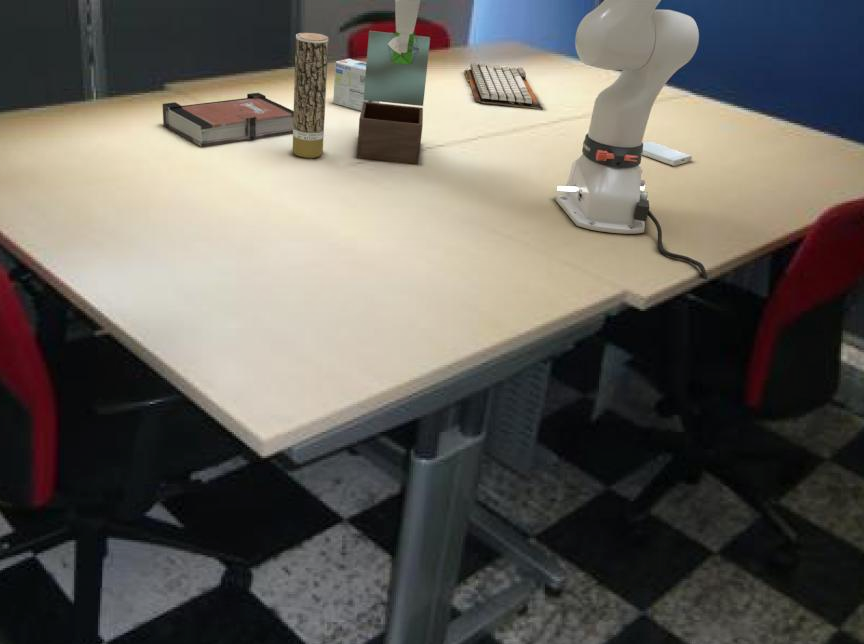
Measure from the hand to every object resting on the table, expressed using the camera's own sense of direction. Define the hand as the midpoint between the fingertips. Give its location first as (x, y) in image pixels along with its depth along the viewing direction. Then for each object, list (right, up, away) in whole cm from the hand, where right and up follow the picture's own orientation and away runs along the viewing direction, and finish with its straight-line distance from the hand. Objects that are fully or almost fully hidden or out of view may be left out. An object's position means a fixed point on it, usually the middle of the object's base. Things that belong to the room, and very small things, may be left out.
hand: (403, 47), depth 194 cm
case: (-3, -18, +15) cm, 24 cm away
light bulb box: (-12, +2, +44) cm, 46 cm away
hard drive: (+65, -15, +32) cm, 74 cm away
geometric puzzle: (0, -3, +2) cm, 3 cm away
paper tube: (-22, -21, +8) cm, 31 cm away
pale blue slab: (-2, 0, +13) cm, 13 cm away
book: (-40, -13, +17) cm, 45 cm away
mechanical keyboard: (+30, +17, +73) cm, 81 cm away
